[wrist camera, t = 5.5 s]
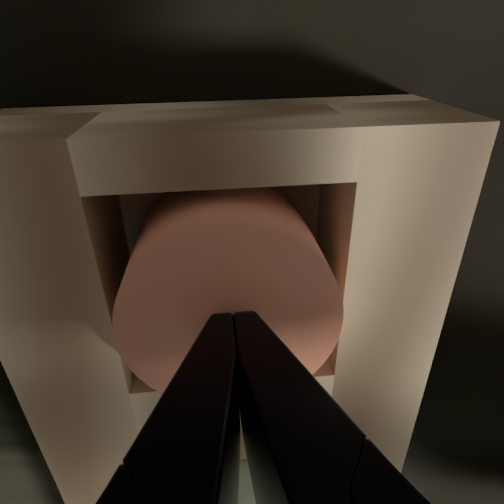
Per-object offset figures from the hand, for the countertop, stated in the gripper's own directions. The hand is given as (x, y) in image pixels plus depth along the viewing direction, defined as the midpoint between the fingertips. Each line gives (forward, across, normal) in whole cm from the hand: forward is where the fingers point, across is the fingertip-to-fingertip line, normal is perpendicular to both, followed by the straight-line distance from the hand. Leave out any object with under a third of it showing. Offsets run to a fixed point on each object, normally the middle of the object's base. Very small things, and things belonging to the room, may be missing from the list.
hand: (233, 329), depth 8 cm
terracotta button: (+3, 0, 0) cm, 3 cm away
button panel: (+4, 0, +8) cm, 9 cm away
